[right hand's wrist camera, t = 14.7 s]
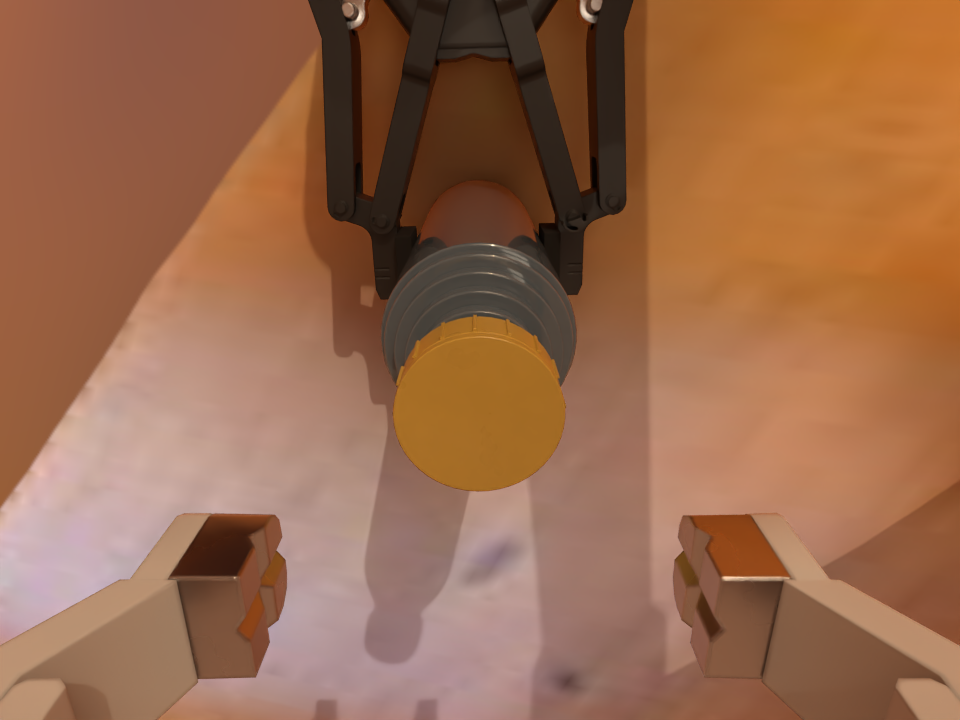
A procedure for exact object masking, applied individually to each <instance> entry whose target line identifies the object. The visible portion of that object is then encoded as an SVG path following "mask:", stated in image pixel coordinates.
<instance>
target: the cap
mask: <svg viewBox="0 0 960 720" xmlns="http://www.w3.org/2000/svg"><path fill="white" fill-rule="evenodd" d="M558 378H560V377H559V373H558V370H557V367H556V364H555V361H554V359H552V360H551V358H550V356H549V354H548V353H547V351H546V350H545V348H544V347H543V346H542V345H541V343H540V342H539V341H538V339H537V336H536V335H534V336H532V335H531V334H530V333H529V332H527V331H526V330H524V329H523V328H521V327H519V326H517V325H515V324H513V323H511V322H510V321H509V320H508V319H506V321H505V320H502V319H497V318H492V317H481V316H479V317H477V315H473V317H466V318H461V319H457V320H453V321H450V322H448V323H445V322H443V323H441V326H439V327H437V328H436V329H434V330H432V331H431V332H429V333H428V334H427V335H426V336H425V337H423V338H422V339H421V340H420V341H419V340H417V341H416V343H415V347H414V349H413V350H412V351H411V353H410V354H409V356H408V358H407V360H406V362H405V365H404V366H401V369H400V372H399V375H398V379H397V382H396V385H397V386H398V388H397V391H396V395H395V400H394V405H393V421H394V428H395V432H396V436H397V438H398V441H399V443H400V445H401V447H402V449H403V451H404V452H405V454H406V455H407V457H408V458H409V459H410V460H411V462H412V463H413V464H414V465H415V466H416V467H417V468H418V469H419V470H421V471H422V472H423V473H424V474H426V475H427V476H429V477H430V478H432V479H434V480H435V481H437V482H439V483H442V484H444V485H446V486H450V487H453V488H456V489H461V490H467V491H491V490H497V489H502V488H505V487H509V486H511V485H514V484H516V483H519V482H521V481H523V480H524V479H526V478H528V477H529V476H531V475H532V474H534V473H535V472H536V471H538V470H539V469H540V468H541V467H542V466H543V465H544V464H545V463H546V462H547V460H548V459H549V458H550V457H551V455H552V454H553V452H554V451H555V449H556V448H557V445H558V443H559V441H560V439H561V436H562V432H563V429H564V423H565V408H566V404H565V401H564V397H563V394H562V391H561V388H560V384H559V381H558Z"/></svg>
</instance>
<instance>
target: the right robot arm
mask: <svg viewBox="0 0 960 720" xmlns="http://www.w3.org/2000/svg"><path fill="white" fill-rule="evenodd" d="M281 539H282V533H281V527H280V521H279V519H278V518H277V517H276V515H263V514H216V513H215V514H211V513H184V514H182V515H179V516H177V517H176V518H175V519H174V521H173V522H172V523H171V525H170V526H169V527H168V529H167V530H166V531H165V533H164V534H163V535H162V537H161V538H160V540H159V541H158V542H157V544H156V545H155V546H154V548H153V549H152V550H151V552H150V553H149V554H148V556H147V557H146V558H145V560H144V561H143V562H142V564H141V565H140V566H139V568H138V569H137V570H136V572H135V573H134V574H133V576H132V577H131V578H130V580H118V581H116V582H115V583H113V584H111V585H109V586H107V587H106V588H104V589H102V590H100V591H98V592H96V593H95V594H93V595H91V596H89V597H87V598H86V599H84V600H82V601H80V602H78V603H76V604H75V605H73V606H71V607H69V608H67V609H66V610H64V611H62V612H60V613H58V614H57V615H55V616H53V617H51V618H49V619H47V620H46V621H44V622H42V623H40V624H38V625H37V626H35V627H33V628H31V629H29V630H27V631H26V632H24V633H22V634H20V635H18V636H17V637H15V638H13V639H11V640H9V641H8V642H6V643H4V644H2V645H0V720H157V719H159V718H160V717H161V716H162V715H163V714H164V713H165V712H166V711H167V710H168V709H169V708H171V707H172V706H173V705H174V704H175V703H176V702H177V701H178V700H179V699H180V698H181V697H183V696H184V695H185V694H186V693H187V692H188V691H189V690H190V689H191V688H192V687H193V686H195V685H196V684H197V683H198V679H215V678H250V677H256V675H257V673H258V670H259V668H260V665H261V663H262V660H263V658H264V655H265V653H266V650H267V648H268V645H269V643H270V640H269V634H268V628H269V627H270V626H271V625H273V624H274V623H275V622H276V621H278V620H279V617H280V614H281V612H282V609H283V606H284V601H285V595H286V589H287V569H286V561H285V559H284V558H283V557H282V556H281V555H280V554H279V553H278V552H277V551H276V550H277V548H278V545H279V543H280V541H281ZM678 539H679V541H680V543H681V545H682V548H683V550H684V551H683V552H682V553H681V554H680V555H679V556H678V557H677V558H676V559H675V561H674V571H673V587H674V597H675V601H676V606H677V609H678V612H679V614H680V617H681V620H682V621H684V622H685V623H686V624H687V625H689V626H690V627H691V628H692V634H691V640H690V643H691V645H692V648H693V650H694V653H695V655H696V658H697V660H698V663H699V665H700V668H701V670H702V673H703V675H704V677H709V678H744V679H762V682H763V683H764V684H765V685H766V686H767V687H768V688H769V689H770V690H771V691H772V692H773V693H775V694H776V695H777V696H778V697H779V698H780V699H781V700H782V701H783V702H784V703H785V704H786V705H788V706H789V707H790V708H791V709H792V710H793V711H794V712H795V713H796V714H797V715H798V716H800V717H801V718H802V719H803V720H960V646H959V645H958V644H956V643H954V642H952V641H950V640H949V639H947V638H945V637H943V636H941V635H939V634H938V633H936V632H934V631H932V630H930V629H929V628H927V627H925V626H923V625H921V624H920V623H918V622H916V621H914V620H912V619H911V618H909V617H907V616H905V615H903V614H901V613H900V612H898V611H896V610H894V609H892V608H891V607H889V606H887V605H885V604H883V603H882V602H880V601H878V600H876V599H874V598H873V597H871V596H869V595H867V594H865V593H863V592H862V591H860V590H858V589H856V588H854V587H853V586H851V585H849V584H847V583H845V582H844V581H842V580H830V578H829V577H828V576H827V574H826V573H825V572H824V570H823V569H822V568H821V566H820V565H819V564H818V562H817V561H816V560H815V558H814V557H813V556H812V554H811V553H810V552H809V550H808V549H807V548H806V546H805V545H804V544H803V542H802V541H801V540H800V538H799V537H798V536H797V534H796V533H795V532H794V530H793V529H792V528H791V526H790V525H789V524H788V522H787V521H786V520H785V518H784V517H783V516H781V515H779V514H778V513H759V514H745V515H684V516H683V517H682V519H681V522H680V525H679V532H678Z"/></svg>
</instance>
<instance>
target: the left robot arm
mask: <svg viewBox="0 0 960 720" xmlns="http://www.w3.org/2000/svg"><path fill="white" fill-rule="evenodd" d="M308 1H309V4H310V7H311V10H312V12H313V15H314V18H315V21H316V24H317V26H318V29H319V32H320V35H321V38H322V59H323V88H324V117H325V146H326V175H327V204H328V211H329V213H330V215H331V216H332V217H333V218H334V219H335V220H338V221H348V222H351V223H354V224H357V225H360V226H362V227H364V228H365V229H366V230H367V231H368V232H369V234H370V236H371V239H372V248H373V260H374V272H375V284H376V290H377V292H378V294H379V297H380V299H389V297H390V295H391V293H392V290H393V288H394V286H395V284H396V282H397V280H398V278H399V276H400V273H401V271H402V269H403V267H404V265H405V263H406V261H407V258H408V256H409V254H410V252H411V250H412V248H413V246H414V244H415V241H416V239H417V230H416V226H406V227H401V228H400V218H401V216H402V215H401V213H402V209H403V205H404V201H405V197H406V193H407V189H408V185H409V181H410V177H411V173H412V169H413V165H414V161H415V157H416V153H417V149H418V145H419V141H420V137H421V133H422V129H423V125H424V121H425V117H426V113H427V109H428V105H429V101H430V97H431V94H432V90H433V86H434V83H435V80H436V77H437V73H438V69H439V65H440V63H442V62H458V61H461V60H464V59H467V58H471V57H477V58H481V59H485V60H488V61H508V64H509V67H510V71H511V74H512V77H513V80H514V82H515V85H516V88H517V91H518V95H519V98H520V101H521V105H522V108H523V111H524V115H525V118H526V121H527V124H528V128H529V131H530V134H531V138H532V141H533V144H534V148H535V151H536V154H537V158H538V161H539V164H540V167H541V171H542V174H543V177H544V181H545V184H546V187H547V191H548V194H549V197H550V200H551V204H552V207H553V210H554V214H555V223H539V238H540V240H541V242H542V244H543V246H544V248H545V250H546V252H547V254H548V256H549V258H550V260H551V263H552V265H553V267H554V269H555V271H556V273H557V275H558V277H559V279H560V281H561V283H562V285H563V287H564V290H565V292H566V294H567V295H578V292H579V290H580V288H581V285H582V269H583V265H582V264H583V240H584V231H585V229H586V227H587V226H588V224H590V223H591V222H592V221H594V220H596V219H599V218H601V217H604V216H606V215H609V214H611V215H614V214H618V213H619V212H621V211H622V210H623V208H624V207H625V205H626V138H625V63H624V30H625V26H626V23H627V20H628V16H629V13H630V10H631V7H632V3H633V0H576V2H577V9H576V12H577V16H578V18H579V20H580V21H581V22H582V23H584V24H586V25H589V26H588V32H587V40H586V60H587V90H588V121H589V151H590V182H591V188H590V189H587V190H585V191H582V192H580V191H579V188H578V184H577V181H576V177H575V173H574V170H573V166H572V163H571V159H570V156H569V152H568V149H567V145H566V142H565V138H564V135H563V131H562V128H561V124H560V121H559V117H558V114H557V110H556V107H555V103H554V100H553V96H552V93H551V89H550V86H549V82H548V79H547V75H546V71H545V64H544V60H543V56H542V53H541V49H540V46H539V42H538V39H537V35H536V33H537V32H538V30H539V28H540V27H541V25H542V24H543V22H544V21H545V19H546V18H547V16H548V15H549V13H550V11H551V10H552V8H553V7H554V5H555V4H556V2H557V1H558V0H384V2H385V3H386V4H387V6H388V7H389V8H390V10H391V11H392V13H393V14H394V15H395V17H396V18H397V20H398V21H399V22H400V24H401V25H402V27H403V28H404V29H405V31H406V32H407V34H408V35H409V36H410V38H409V42H408V46H407V51H406V55H405V59H404V64H403V69H402V78H401V83H400V87H399V91H398V95H397V100H396V104H395V108H394V113H393V117H392V121H391V125H390V130H389V134H388V138H387V143H386V147H385V151H384V155H383V160H382V164H381V168H380V173H379V177H378V181H377V185H376V190H375V194H374V197H371V196H368V195H365V194H363V163H362V96H361V51H360V42H359V37H358V32H357V31H359V30H361V29H363V28H364V27H365V26H366V24H367V22H368V18H369V15H368V5H369V2H370V0H308Z"/></svg>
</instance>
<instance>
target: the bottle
mask: <svg viewBox="0 0 960 720" xmlns="http://www.w3.org/2000/svg"><path fill="white" fill-rule="evenodd" d="M473 315H477V317H479V316H481V317H492V318H497V319H502V320H505V321H506V319H508V320H509V321H510V322H511V323H513V324H515V325H517V326H519V327H521V328H523V329H524V330H526V331H527V332H529V333H530V334H531V335H532V336H534V335H536V336H537V339H538V341H539V342H540V343H541V345H542V346H543V347H544V348H545V350H546V351H547V353H548V354H549V356H550V358H551V360H552V359H554V361H555V364H556V367H557V370H558V373H559V377H560V378H558V381H559V384H560V387H561V385H562V384H563V382H564V380H565V378H566V376H567V374H568V372H569V369H570V367H571V365H572V361H573V358H574V354H575V348H576V340H577V329H576V321H575V316H574V312H573V308H572V305H571V303H570V301H569V298H568V296H567V294H566V292H565V290H564V287H563V285H562V283H561V281H560V279H559V277H558V275H557V273H556V271H555V269H554V267H553V265H552V263H551V260H550V258H549V256H548V254H547V252H546V250H545V248H544V246H543V244H542V242H541V240H540V238H539V236H538V233H537V231H536V229H535V227H534V225H533V223H532V221H531V219H530V217H529V215H528V213H527V211H526V209H525V207H524V205H523V204H522V202H521V201H520V200H519V198H518V197H517V196H516V195H515V194H514V193H513V192H511V191H510V190H508V189H507V188H505V187H504V186H502V185H500V184H497V183H494V182H491V181H486V180H471V181H465V182H462V183H459V184H457V185H455V186H453V187H451V188H449V189H448V190H446V191H445V192H444V193H443V194H442V195H440V197H439V198H438V199H437V200H436V201H435V203H434V204H433V206H432V207H431V209H430V212H429V214H428V216H427V218H426V220H425V222H424V224H423V226H422V229H421V231H420V233H419V235H418V237H417V239H416V241H415V244H414V246H413V248H412V250H411V252H410V254H409V256H408V258H407V261H406V263H405V265H404V267H403V269H402V271H401V273H400V276H399V278H398V280H397V282H396V284H395V286H394V288H393V290H392V293H391V295H390V297H389V299H388V301H387V304H386V307H385V310H384V313H383V318H382V324H381V346H382V352H383V356H384V360H385V364H386V366H387V369H388V371H389V373H390V375H391V377H392V379H393V381H394V383H395V385H396V382H397V379H398V375H399V372H400V369H401V366H404V365H405V362H406V360H407V358H408V356H409V354H410V353H411V351H412V350H413V349H414V347H415V343H416V341H417V340H419V341H420V340H421V339H422V338H423V337H425V336H426V335H427V334H428V333H429V332H431V331H432V330H434V329H436V328H437V327H439V326H441V323H443V322H445V323H448V322H450V321H453V320H457V319H461V318H466V317H473ZM396 386H397V385H396ZM397 388H398V386H397Z"/></svg>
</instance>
